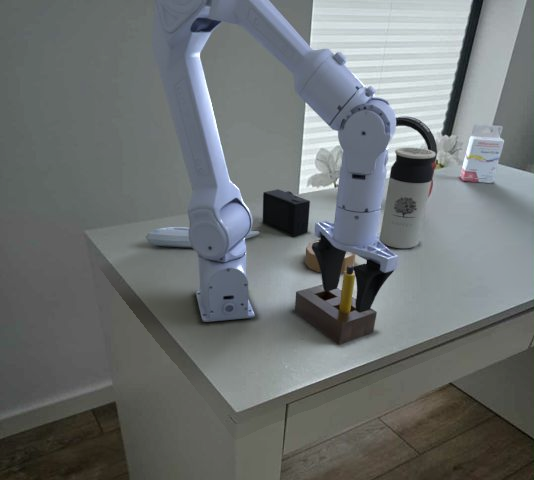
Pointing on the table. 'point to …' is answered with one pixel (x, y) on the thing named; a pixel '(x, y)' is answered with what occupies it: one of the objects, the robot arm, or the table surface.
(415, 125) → the headphones
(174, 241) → the spaceship
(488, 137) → the ink cartridge box
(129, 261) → the table surface
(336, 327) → the pencil stand
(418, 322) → the table surface
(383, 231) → the travel mug
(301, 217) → the digital camera
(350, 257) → the tape roll
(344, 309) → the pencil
